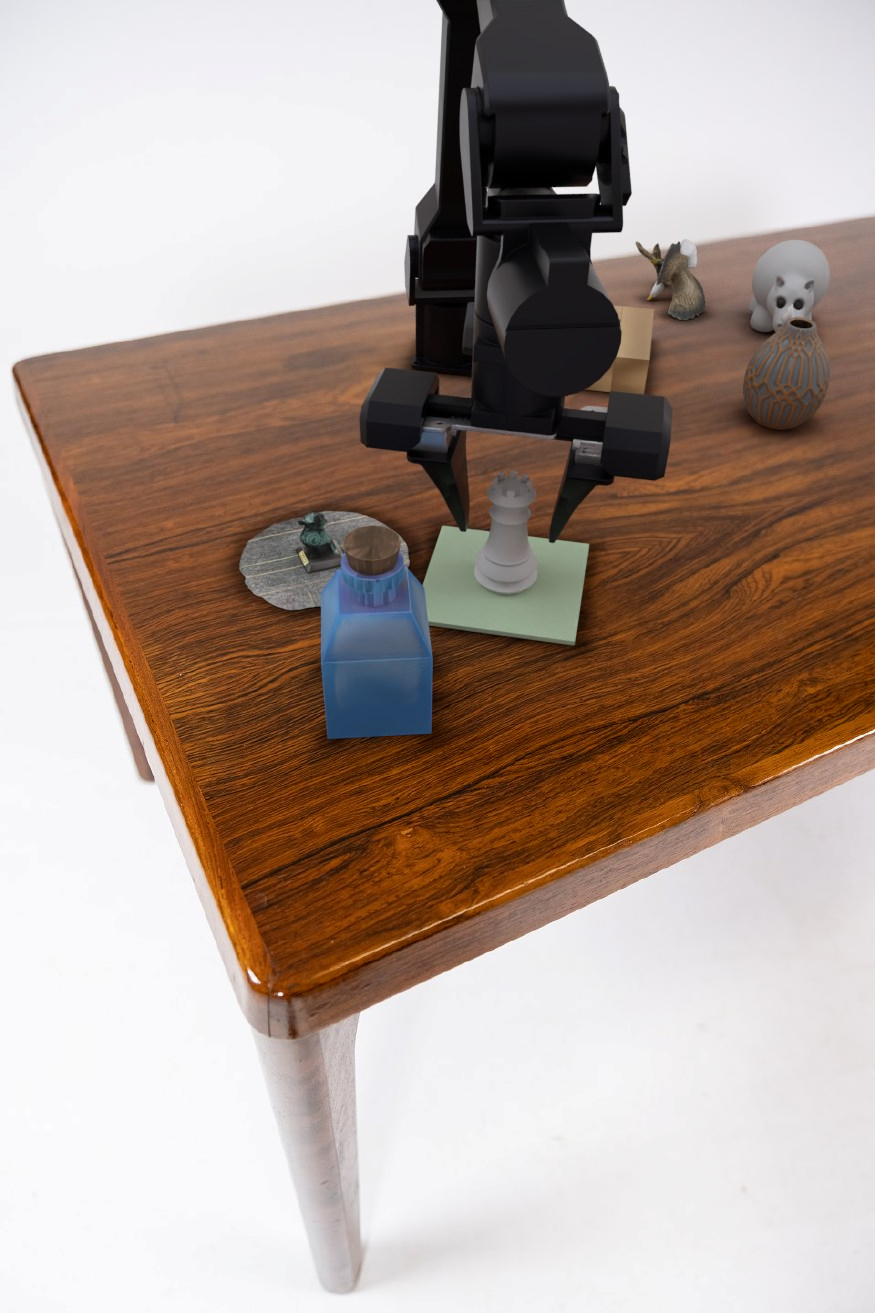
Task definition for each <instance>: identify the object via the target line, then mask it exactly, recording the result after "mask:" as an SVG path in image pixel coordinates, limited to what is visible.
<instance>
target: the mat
mask: <svg viewBox="0 0 875 1313" xmlns="http://www.w3.org/2000/svg"><path fill="white" fill-rule="evenodd" d="M489 533H490V530H489V531H488V530H483V529H482V530H481V529H475V528H473V529H472V528H467V531H466V532H461V531H460V530H459V528H458V526H450V525H442V526H441V529H440V531H439V535H438V538H437V539H436V540H437V541H436V543H435V546H434V549H433V552H432V555H431V559H430V562H429V565H428V567H427V570H426V574H425V577H424V580H423V583H422V584H421V585H422V586H423V587H424V590H425V598H426V607H427V615H428V624H429V627H430V626H431V627H438V628H445V629H452V630H459V631H467V632H471V633H472V632H474V633H481V634H488V635H495V636H502V637H509V638H516V639H524V640H530V641H538V642H546V643H553V644H559V645H567V646H573V647H574V646H575V645H576V638H577V632H578V631H577V630H578V625H579V618H580V611H581V605H582V598H583V590H584V583H585V579H586V578H585V577H586V570H587V563H588V558H589V557H588V556H589V550H590V549H589V548H590V544H589V543H585V542H577V541H571V540H569V541H568V540H561V539H557V540H556V541H555V543H549V538H545V537H537V536H529V535H528V542H529V544H530V546H531V547H532V551H533V552H534V554H535V556H536V558H537V569H536V570H537V579H536V581H535V582H534V583H533V584H532V585H531V586H530V587H529V588H528V589H527V590H525V591H523V592H521V593H519V594H513V595H501V594H496V593H493V592H490V591H488V590H487V589H485V588H484V587H483V586H482V585H481V584H480V583H479V582H478V581H477V579H476V577H475V575H474V570H475V566H476V564H475V562H476V557H477V554H478V552H479V551H480V550H481V549H482V547H483V544H484V543H485V542H486V541H487V539H488V537H489Z"/></svg>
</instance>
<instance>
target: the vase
mask: <svg viewBox="0 0 875 1313" xmlns="http://www.w3.org/2000/svg"><path fill="white" fill-rule="evenodd" d="M830 380H831V363H830V359H829V356H828V353H827V350H826V348H825V346H824V344H823V342H822V341H821V339H820V336H819V332H818V326H817V323H816V322H815V321H814V320H813V319H812V320H810V319H807V318H802V317H794V318H790V319H788V320H787V321H786V322H785V324H784V325H783V326H782V327H781V329H780V330H779V331H777V332H775V333H773V334H772V335H771V336H769V337H768V338H767V339H765V341H763V342H762V343H761V344H760V345H759V346H758V348H757V349H756V350H755V352H754V353H753V355H752V356H751V358H750V360H749V362H748V363H747V367H746V369H745V373H744V377H743V383H742V396H743V398H742V399H743V403H744V406H745V408H746V410H747V412H748V414H749V415H750V416H751V417H752V419H753V420H754V421H755V422H756V423H757V424H759V425H761V426H763V427H765V428H768V429H772V430H777V431H778V430H779V431H782V430H783V431H787V430H791V429H795V428H797V427H799V426H801V425H803V424H804V423H806V422H808V421H809V420H810V419H811V418H812V417H813V416H814V415H815V414H816V412H818V410H819V409H820V407H821V406H822V405H823V402H824V400H825V397H826V395H827V392H828V389H829V385H830Z"/></svg>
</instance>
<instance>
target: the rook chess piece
mask: <svg viewBox="0 0 875 1313" xmlns="http://www.w3.org/2000/svg"><path fill="white" fill-rule="evenodd" d="M518 473H519V470H510V472H509V476H506V472H504V471H501V472H498V473H497V474H496V475H497V476H496V477H495V476H494V477H493V480H492V484H491V485H489V487H487V491H486V496H487V498H488V499H489V501H490V503H492V505H491V506H490V507H489V510H488V515H489V516H490V518H491V522H490V523H491V524H490V528H489V531H490V533H489V537H488V539H487V541H486V542H485V543H484V544H483V547H482V549H481V550H480V551H479V552H478V554H477V557H476V562H475V564H476V566H475V570H474V575H475V577H476V579H477V581H478V582H479V583H480V584H481V585H482V586H483V587H484V588H485V589H487V590H488V591H490V592H493V593H496V594H501V595H513V594H519V593H521V592H523V591H525V590H527V589H528V588H529V587H530V586H531V585H532V584H533V583H534V582H535V581H536V579H537V570H536V569H537V558H536V556H535V554H534V552H533V551H532V547H531V546H530V544H529V542H528V536H529V533H528V532H529V531H528V521H529V520H530V518H532V517H531V516H532V511H531V509H530V508H529V506H530V505H531V504H532V503H533V502H534V501H535V500H536V499H537V491H536V490H535V488H534V486H532V484H533V481H532V480H530V476H529V475H528V474H526V473H522V474H521V477H518V476H519V475H518Z"/></svg>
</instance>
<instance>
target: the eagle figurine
mask: <svg viewBox="0 0 875 1313" xmlns="http://www.w3.org/2000/svg"><path fill="white" fill-rule="evenodd" d="M635 246H636V248H637V250H638V252H639V253H640V254H641V255H642V256H643V257H644V258H646V259H648V261H649V262H650V263H651V264H652V265H653V267H654V269H655V272H656V277H657V278H656V280H655V283H654V285H653V286H652V288H651V290H650V293H649V295H648V298H646V300H647V301H651V300H652V299H653V298H657V297H658V296H659V295H660V294H662V291H663V290H665V289H666V288H667V287H670V288H671V289H672V299H671V302H670V303H669V307H668V311H667V314H668V315H670V316H672V318H674V319H678V320H680V321H688V320H690V319H695V317H696V316H697V317H698V316H700V314H703V312H704V310H705V308H706V297H705V293H704V289H703V286H702V284H701V282H700V281H699V279H697V278H696V276H695V275H694V274H693V273H692V272H691V270H690V269H695V268H696V267H697V265H698V251H697V245H695V244H694V242H693V241H691V240H690V239H686V238H684V239H683V240H682V241H677V243H671V244H670V246H669V248H668V249H667V251H666V253H665V255H664V256H663V258H662V251H661V247H660V243H658V242H657V243H656V244H655V245H654V246H653V249H652V253H651V252H649V251H648V250H647V249H646V248H645V247H643V245H642V243H640V241H635Z"/></svg>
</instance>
